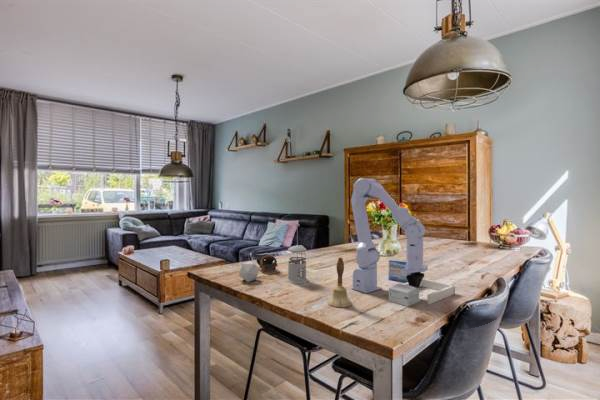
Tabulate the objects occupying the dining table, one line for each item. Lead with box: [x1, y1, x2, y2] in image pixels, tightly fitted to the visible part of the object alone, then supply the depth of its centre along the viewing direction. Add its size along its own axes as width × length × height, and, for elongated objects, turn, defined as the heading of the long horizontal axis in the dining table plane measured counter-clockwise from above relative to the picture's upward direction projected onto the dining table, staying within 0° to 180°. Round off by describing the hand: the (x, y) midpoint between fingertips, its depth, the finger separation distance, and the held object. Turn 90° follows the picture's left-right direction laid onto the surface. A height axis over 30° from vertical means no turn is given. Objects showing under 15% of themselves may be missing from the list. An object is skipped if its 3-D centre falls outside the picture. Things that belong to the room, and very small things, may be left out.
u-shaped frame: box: [403, 278, 456, 305], centre depth 125 cm, size 18×14×3 cm
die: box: [238, 261, 260, 283], centre depth 143 cm, size 8×9×10 cm
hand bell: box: [327, 257, 353, 308], centre depth 114 cm, size 8×8×16 cm
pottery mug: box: [256, 255, 279, 274], centre depth 160 cm, size 12×10×8 cm
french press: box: [285, 222, 309, 285], centre depth 143 cm, size 10×12×25 cm
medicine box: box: [387, 258, 408, 283], centre depth 144 cm, size 8×4×9 cm, turn 62°
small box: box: [388, 283, 420, 307], centre depth 116 cm, size 8×8×5 cm
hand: (414, 292), depth 120 cm, fingers closed
